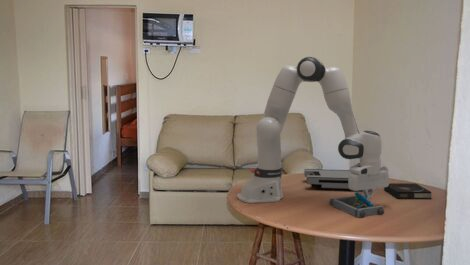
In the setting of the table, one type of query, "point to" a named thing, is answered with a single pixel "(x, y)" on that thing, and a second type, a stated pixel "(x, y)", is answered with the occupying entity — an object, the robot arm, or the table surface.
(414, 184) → the portable cd player
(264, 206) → the table surface
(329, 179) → the game console
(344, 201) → the u-shaped wheeled base
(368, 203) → the gear
